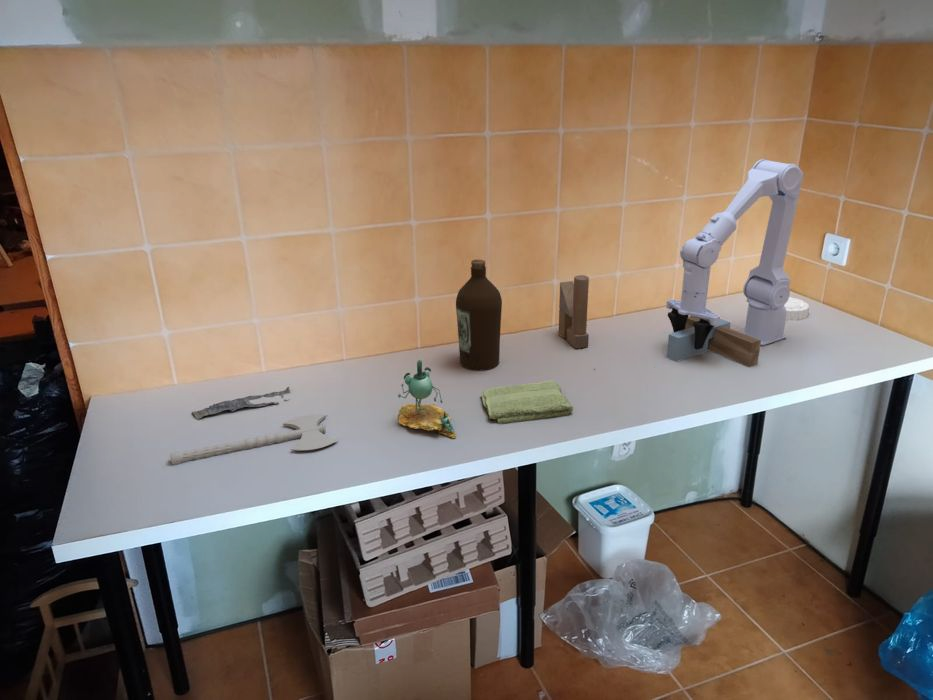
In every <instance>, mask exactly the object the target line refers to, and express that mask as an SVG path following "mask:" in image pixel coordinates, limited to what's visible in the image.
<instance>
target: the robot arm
mask: <svg viewBox="0 0 933 700" xmlns="http://www.w3.org/2000/svg"><path fill="white" fill-rule="evenodd" d="M803 178H804V172H803V171H802V169H800V167H799V166H798V164H795V163H786V162H785V163H784V162H779V161H773V160H769V159H766V158H765V159H764V158H762V159H760V160H759V159H758V161H756V162H755V163H754V165H752V167H751V168H750V169H749V171H748V172H747V176H746V182H745V183H744V185H743V186H742V187H741V189H740V190H739V191H738V192H737V194H736V195H735V196H734V198H733V199H732V200H731V202H730V203H729V205H728V206H727V207H726V209H725V210H724V211H723V212H716V213H715V214H713V215H712V216H711V217H710V220H709V221H708V222H707V223H706V225H705V226H704V227H703V228H702V229H701V230H700V232H699V233H698V234H696V236H695V237H691V238H690V239H688V240H687V241H685V242H684V243H683V245H682V248H681V249H680V251H679V255H680V259H681V260H682V267H683V277H682V279H683V280H682V286H681V295H680V300H676V299H672V298H671V299H668V300H666V305H665V308H666V309H668V310H671V311H670V312H667V317H668V319H669V321H670V324H671V327H672V331H673V332H672V333H674V332H678V331H681V330H684V329H685V325H686V322H687V318H688V317H689V316H692V317H695V318H698V319H700V321H697V322H694V323H693V325H694V329H695V344H694V346H695V349H696V350H698V349H701V348H703V346H704V343H705V341H706V338H707V336H708V335H709V333H710V331H711V330H712V329H713V327H714V326H715V325H718V324H719V322H720V319H721V316H720V315H718V314H715V312H713V311H712V310H710V309H708V308H707V307H706V306H707V299H708V298H707V297H708V293H709V292H708V291H709V283H710V276H711V275H710V274H711V268H712V266H713V265H714V264H715V263H716V262H717V260H718V259H719V255H720V254H719V253H720V252H721V250H722V246H723V245H724V244H725V243H726V242H727V240H728V239H729V238H730V237H731V235H732V234H733V233H734V232H735V231H736V230H737V221H738V220H740V218H741V217H743V215H744V214H745V213H746V212H747V211H748V210H749V209H750V208H751V207H752V206H753V205H754V204H756V202H757V201H758V200H759V199H760V198H761V197H769V199H770V200H771V202H772V203H771V208H770V213H769V217H768V222H767V226H766V230H765V231H766V232H765V235H764V240H763V245H762V248H761V249H762V250H761V255H760V257H759V264H758V265H757V266H756V267H754V268H752V269H750V270H749V273H748V276H747V278H746V281H745V282H744V285H743V295H744V296H745V297H746V302H747V303H748V307H747V311H746V313H747V314H746V319H745V325H744V331H743V332H741V333H743V334H746V335H749V336H751V337H754V338H757V339H759V340H761V344H760V346H762V347H763V346H765V345H769V344H771V343H775V342H777V341H780V340H784V339H786V338H787V336H786V335H784V331H785V326H786V325H785V324H786V321H787V320H786V314H787V313H786V309H785V307H784V305H785V303H786V302H787V301H788V299H789V297H790V295H791V291H790V290H791V289H790V283H791V278H790V276H789V275H788V273H787V272H786V271H785V269H784V265H785V260H786V255H787V252H788V247H789V243H790V239H791V234H792V231H793V229H792V228H793V224H794V221H795V216H796V212H797V208H798V203H799V199H800V191H801V187H802V183H803Z"/></svg>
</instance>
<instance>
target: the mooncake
mask: <svg viewBox="0 0 933 700" xmlns="http://www.w3.org/2000/svg"><path fill="white" fill-rule="evenodd" d="M784 307H785V309H786V313H787V314H786V321H788V320H790V321H794V320H796V321H802V320H805V319H806V318H807V317H808V315H809V311H810V305H809V303H807V302H806V301H804V300H802V299H801V298H795V297H792V296H789V299H788V301H787V302H786V303H785V305H784ZM804 318H805V319H804ZM801 319H802V320H801Z"/></svg>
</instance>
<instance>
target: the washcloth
mask: <svg viewBox="0 0 933 700" xmlns="http://www.w3.org/2000/svg"><path fill="white" fill-rule="evenodd" d="M481 398H482V404H483V406H484V407H485V409H486V412H487V414H488V417H489V419H490V420H491V419H492V420H496V421H497V424H498V425H499V424H500V425H501V424H503V425H504V424H509V423H517V422H518V423H519V422H524V421H526V422H527V421H532V420H541V419H548V418H556V417H561V416H569V414H572V412H573V411H574V407H573V404H571V402H570V401H569V400H568V399H567V397H566V396H565V395H563V393H562V387H561V386H560V385H559V383H557V382H556V381H555V380H552V379H551V380H544V381H540V382H536V383H534V382H532V383H531V382H530V383H529V382H527V383H524V384H523V383H522V384H518V385H510V386H499V387H498V386H497V387H491V388H488V389H486V390H483V391H482V392H481Z"/></svg>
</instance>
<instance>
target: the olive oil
mask: <svg viewBox="0 0 933 700" xmlns="http://www.w3.org/2000/svg"><path fill="white" fill-rule="evenodd" d="M470 263H471V264H470V265H471V267H470V278H469V279H468V280H467V281H466V282H465V283H464V285H462V286H461V288H460V289H459V290H458V292H457V295H456V299H455V311H456V322H457V323H456V325H457V335H458V350H459V353H458V354H459V364H460V365H461V366H462V367H463V368H464V369H468V370H472V371H487V370H491V369H494V368H496V367H497V366H498V365H499V364H500V355H501V354H500V353H501V352H500V349H501V347H500V346H501V324H502V322H501V321H502V310H503V309H502V308H503V307H502V306H503V300H502V296H501V293H500V291H499V289H498V288H497V287H496V286H495V285H494V284H493V282H491V281H490V280H489V279H488V278H487V275H486V274H487V267H486V260H483V259H473V260H471V262H470Z"/></svg>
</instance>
